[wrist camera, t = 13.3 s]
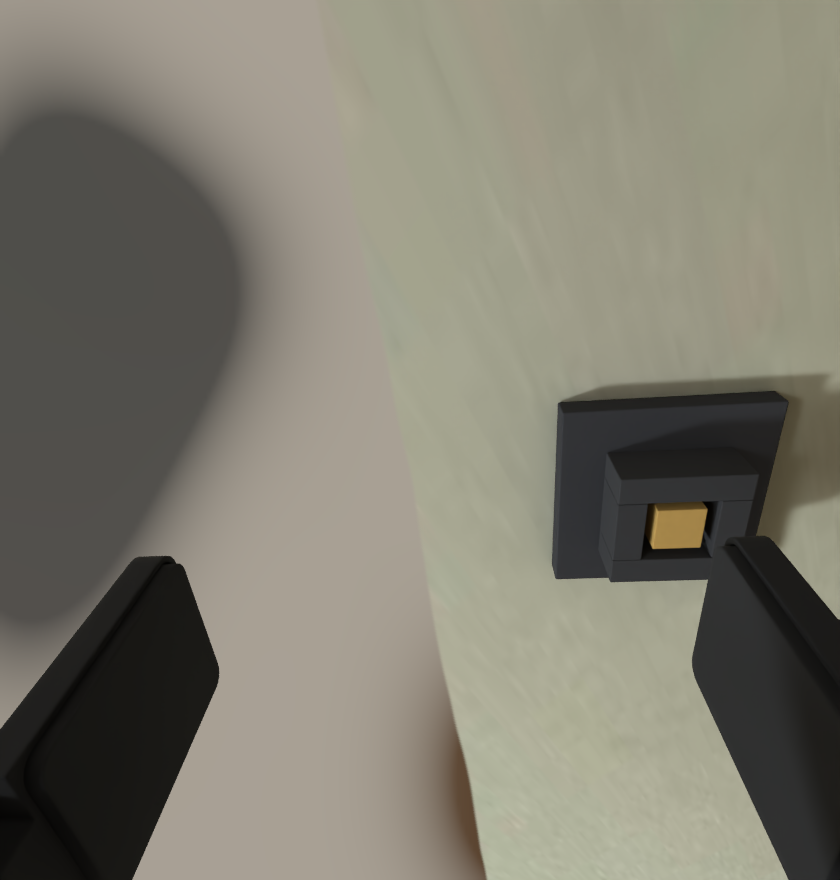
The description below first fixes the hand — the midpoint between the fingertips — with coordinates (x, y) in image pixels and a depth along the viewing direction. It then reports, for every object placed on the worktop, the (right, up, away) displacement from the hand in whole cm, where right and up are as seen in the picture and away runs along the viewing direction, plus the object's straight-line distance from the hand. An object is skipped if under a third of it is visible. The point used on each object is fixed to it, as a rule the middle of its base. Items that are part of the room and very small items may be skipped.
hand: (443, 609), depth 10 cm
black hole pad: (+14, -1, +23) cm, 27 cm away
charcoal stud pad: (+14, 0, +24) cm, 28 cm away
